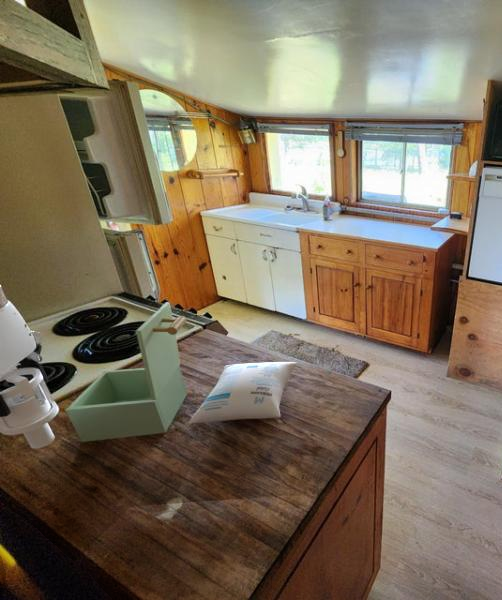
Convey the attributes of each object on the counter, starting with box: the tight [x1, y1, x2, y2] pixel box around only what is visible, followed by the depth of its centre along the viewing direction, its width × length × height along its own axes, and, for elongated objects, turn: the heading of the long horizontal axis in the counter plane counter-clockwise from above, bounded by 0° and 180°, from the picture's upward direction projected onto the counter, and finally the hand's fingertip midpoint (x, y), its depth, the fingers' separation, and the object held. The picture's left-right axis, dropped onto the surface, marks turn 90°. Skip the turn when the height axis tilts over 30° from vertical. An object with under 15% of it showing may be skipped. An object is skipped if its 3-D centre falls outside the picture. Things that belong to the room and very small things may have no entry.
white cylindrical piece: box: [0, 368, 60, 450], centre depth 55 cm, size 7×7×15 cm
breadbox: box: [65, 366, 188, 443], centre depth 73 cm, size 16×13×9 cm
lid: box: [135, 301, 188, 400], centre depth 69 cm, size 16×13×5 cm
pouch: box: [187, 361, 298, 424], centre depth 78 cm, size 8×19×20 cm
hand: (18, 397), depth 54 cm, fingers closed on white cylindrical piece, 7 cm apart
